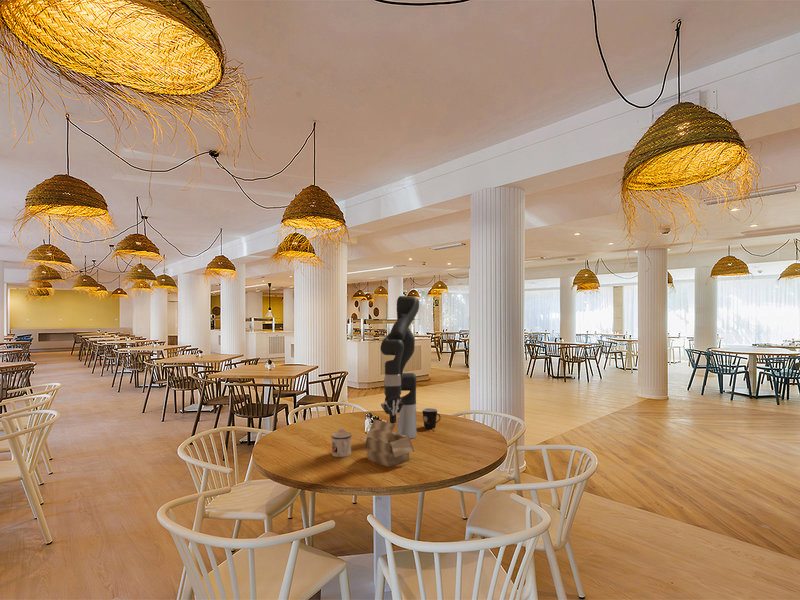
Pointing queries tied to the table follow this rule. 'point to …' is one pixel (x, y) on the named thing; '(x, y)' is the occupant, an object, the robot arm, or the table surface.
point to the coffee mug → (430, 417)
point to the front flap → (381, 430)
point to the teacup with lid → (341, 443)
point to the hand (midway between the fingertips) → (393, 423)
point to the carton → (389, 450)
